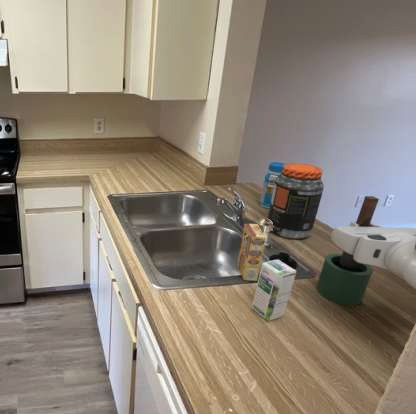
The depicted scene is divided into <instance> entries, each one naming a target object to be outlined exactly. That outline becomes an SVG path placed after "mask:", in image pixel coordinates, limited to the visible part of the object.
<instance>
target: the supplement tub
mask: <svg viewBox="0 0 416 414" xmlns="http://www.w3.org/2000/svg"><path fill="white" fill-rule="evenodd" d="M284 164H285V165H284V166H283V169H282V173H281V174H280V175H279V176H278V177H277V178H276V180H275V184H274V189H273V194H272V199H271V204H270V209H269V208H268V214H267V218H268V219H270V220H271V221H272V222H273V226H274V227H273V231H272V232H271V233H273V234H274V235H276V236H279V237H282V238H286V239H299V240H300V239H305V238H308V237H310V236H311V235H312V232H313V229H314V227H315V226H314V225H315V221H316V218H317V215H318V212H319V208H320V203H321V201H322V197H323V192H324V188H325V183H324V181H323V179H322V176H323V169H322V168H321V167H319V166H316V165H313V164H308V163H307V164H306V163H298V162H297V163H294V162H293V163H292V162H291V163H284Z"/></svg>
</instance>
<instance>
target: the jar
mask: <svg viewBox="0 0 416 414" xmlns="http://www.w3.org/2000/svg"><path fill="white" fill-rule="evenodd" d="M341 256H342V253H331V254H327V255H326V256H325V258H324V261H323V264H322V268H321V271H320V274H319V276H318V281H317V284H316V290H317V292H318V294H319V295H321V296H322V297H323V298H325V299H327V300H328V301H330V302H332V303H335V304H338V305H342V306H351V307H353V306H358V305H360V304H361V303H362V300H363V299H364V295H365V293H366V290H367V288H368V285H369V283H370V280H371V278H372V275H373V273H374V269H373V267H372V265H368V264H363V263H358V266H357V268H356V269H350V268H346V267H344V266H342V265H341V264H340V263H339V262H340V259H341Z"/></svg>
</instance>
